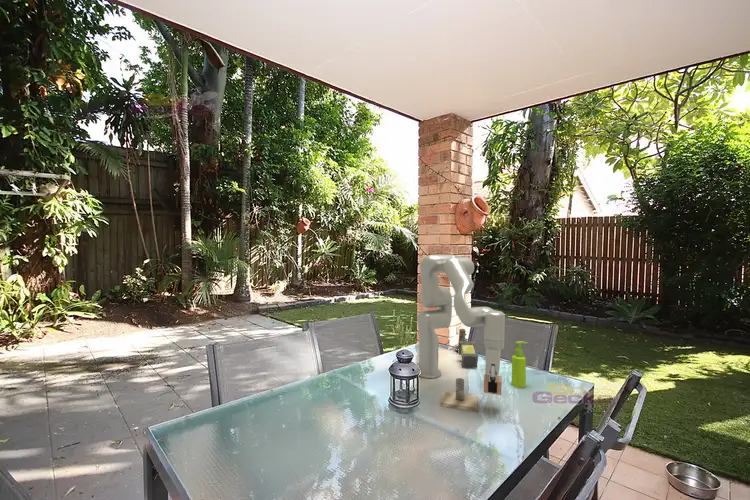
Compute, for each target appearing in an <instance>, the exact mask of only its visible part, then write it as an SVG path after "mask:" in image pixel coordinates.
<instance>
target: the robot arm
mask: <svg viewBox="0 0 750 500" xmlns="http://www.w3.org/2000/svg"><path fill="white" fill-rule="evenodd" d="M419 266H420V267H419V272H420V276H421V277H420V278H421V285H420V286H421V288H420V301H421V305H422V307H424V308H428V309H425V310H422V311H420V312H419V313H418V314H417V317H416V322H417V323H416V324H417V328H418V363H416V364H417V365H418V366H419V368H420V370H421V374H420V376H419V377H421V378H425V379H436V378H440V377H441V376H442V371H441V370H440V369H439V337H438V334H437V333H436V331H435V330H437V329H445V328H448V327H449V326H450V325H451V323H452V317H453V316H452V314H453V313H452V310H453V307H454V312H455V313H456V315H457V316H458V320H460V322H461V323H462V324H463V325H464V326H466V327H467V328H474V327H482V326H483V347H485V369H484V370H485V371H484V374H489V381H488V392H491V393H497V375H498V376H500V375H499V374H500V373H499V372H500V366H501V355H502V354H501V351H502V350H503V349H504V348H505V328H506V325H505V324H506V315H505V313H504V312H503V311H501V310H495V309H493V308H491V307H489V306H474V307H469V305H468V303H467V301H466V298H465V295H466V294H468V293H469V292H470V291H472V290H473V288H474V287H475V286H474V281H473V280H472V278H471V275H472V274H473V273H474V271H475V264H474V262H473V260H472V259H471V258H470V257H467V256H462V255H456V254H430V255H426V256H424V257H422V259H421V261H420V264H419ZM437 273H445V275H446V277H447V279H448V280H449V283H450V285H451V286H452V288H453V290H454V292H455V293H454V295H453V296H452V293H451V291H450V290H449V289H448V288H447V287H440V279H439V277H438V274H437ZM430 308H431V309H430ZM432 308H434V309H432ZM435 308H437V309H435Z"/></svg>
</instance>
